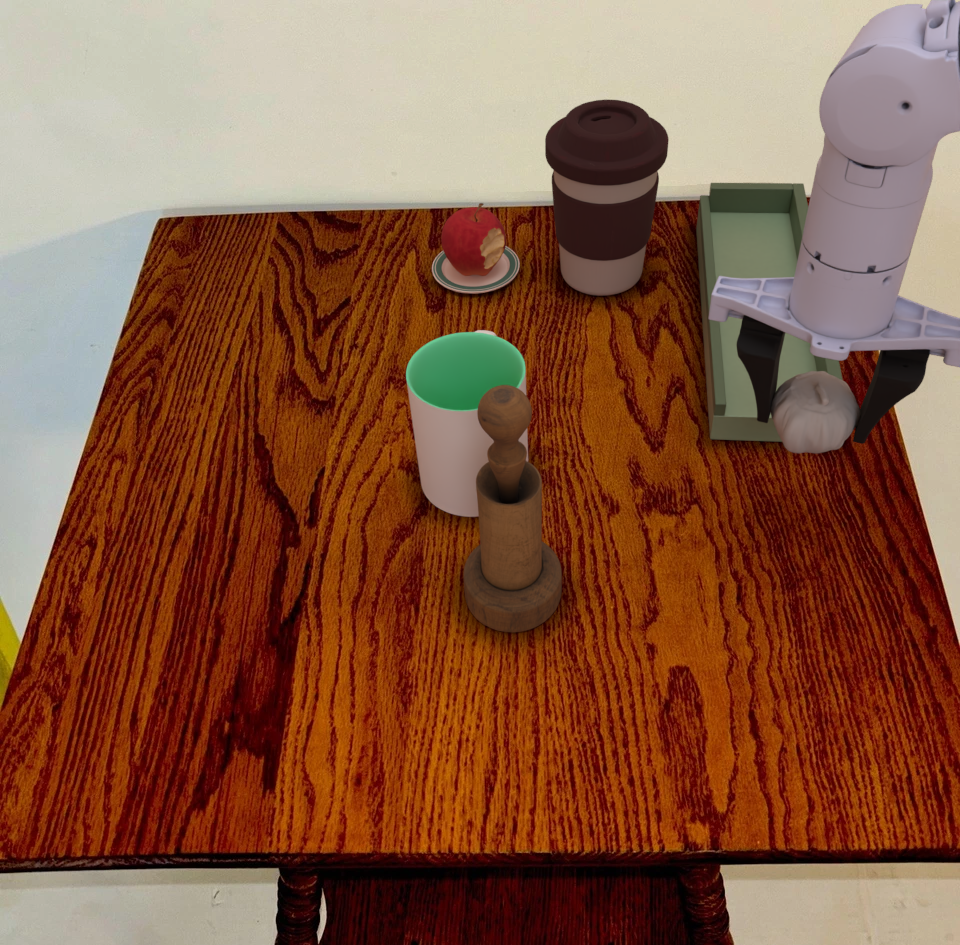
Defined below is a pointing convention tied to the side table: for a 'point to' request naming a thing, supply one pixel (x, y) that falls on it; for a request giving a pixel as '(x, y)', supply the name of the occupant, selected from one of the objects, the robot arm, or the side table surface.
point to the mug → (457, 411)
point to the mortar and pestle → (510, 525)
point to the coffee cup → (604, 192)
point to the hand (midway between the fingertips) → (811, 422)
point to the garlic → (814, 412)
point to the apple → (474, 253)
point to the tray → (748, 254)
